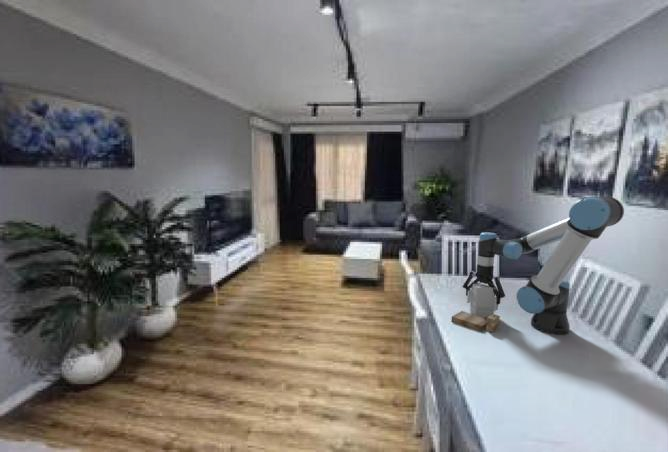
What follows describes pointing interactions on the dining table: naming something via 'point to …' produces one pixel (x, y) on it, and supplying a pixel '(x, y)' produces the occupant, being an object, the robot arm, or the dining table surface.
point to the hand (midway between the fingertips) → (481, 306)
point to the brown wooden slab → (470, 320)
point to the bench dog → (492, 323)
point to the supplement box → (482, 300)
